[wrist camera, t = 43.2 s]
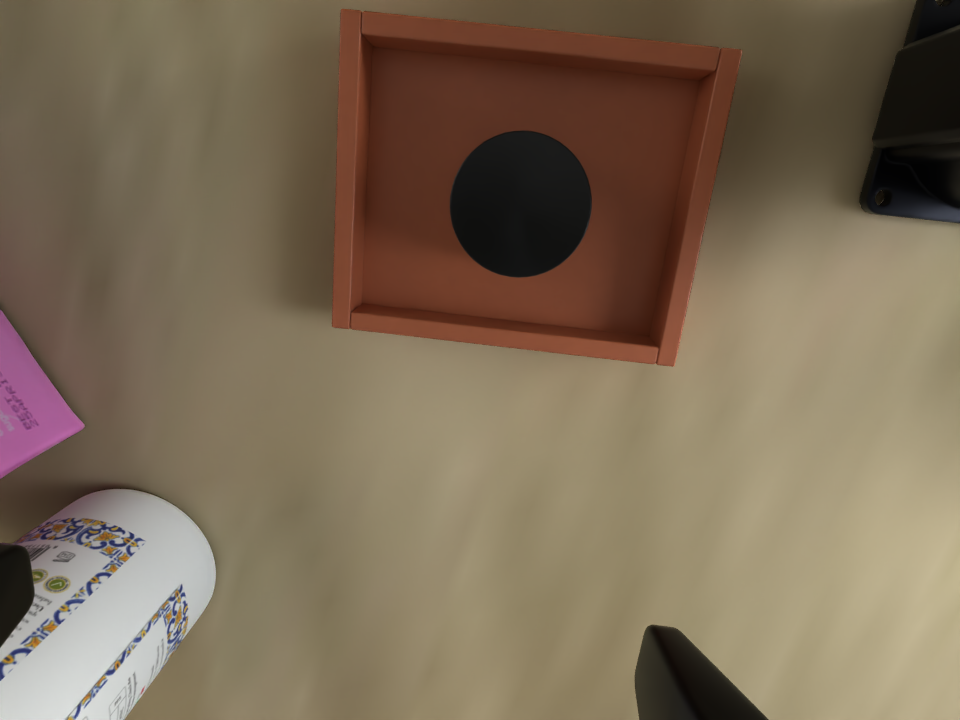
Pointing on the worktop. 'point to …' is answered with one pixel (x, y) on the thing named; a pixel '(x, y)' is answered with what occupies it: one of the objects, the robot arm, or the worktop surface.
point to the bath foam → (104, 606)
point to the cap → (520, 204)
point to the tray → (523, 106)
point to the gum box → (28, 405)
